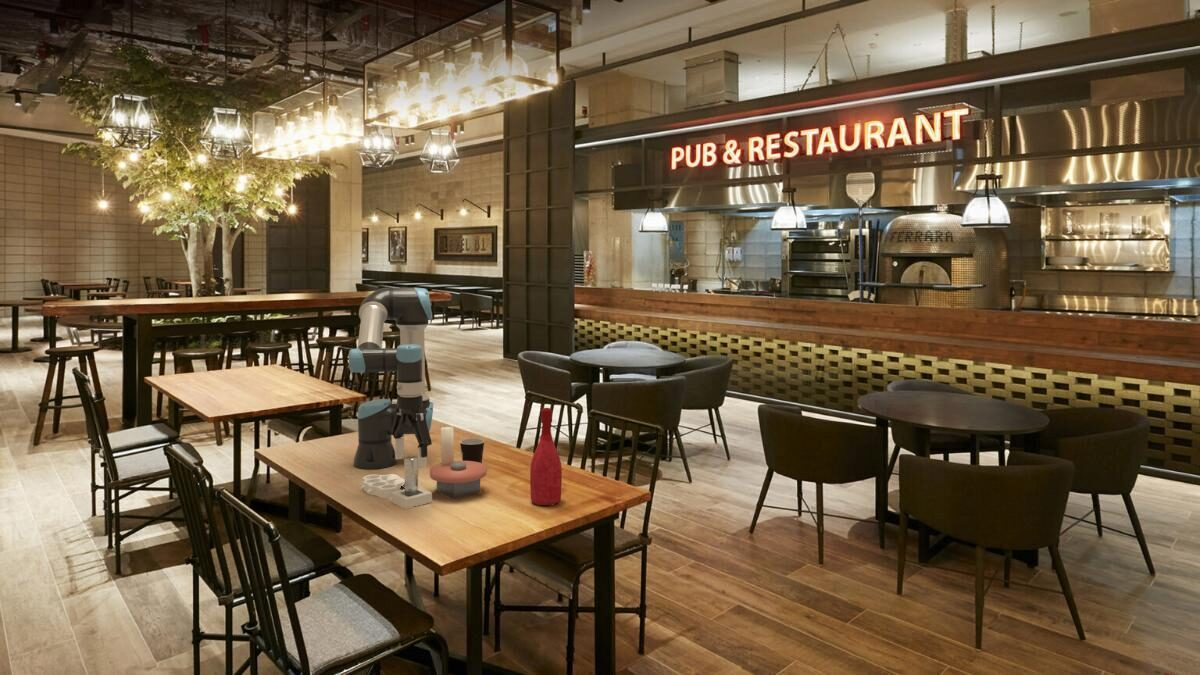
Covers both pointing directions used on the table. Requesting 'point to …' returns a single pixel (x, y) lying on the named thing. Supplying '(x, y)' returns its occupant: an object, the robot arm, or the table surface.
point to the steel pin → (411, 476)
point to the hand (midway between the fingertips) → (410, 462)
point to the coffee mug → (472, 450)
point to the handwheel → (455, 463)
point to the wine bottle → (546, 466)
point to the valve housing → (458, 489)
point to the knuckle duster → (382, 484)
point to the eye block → (411, 498)
